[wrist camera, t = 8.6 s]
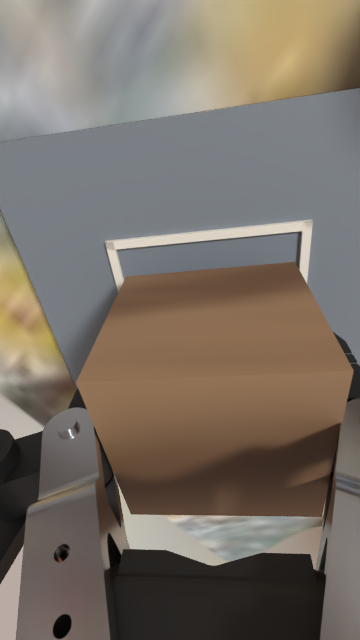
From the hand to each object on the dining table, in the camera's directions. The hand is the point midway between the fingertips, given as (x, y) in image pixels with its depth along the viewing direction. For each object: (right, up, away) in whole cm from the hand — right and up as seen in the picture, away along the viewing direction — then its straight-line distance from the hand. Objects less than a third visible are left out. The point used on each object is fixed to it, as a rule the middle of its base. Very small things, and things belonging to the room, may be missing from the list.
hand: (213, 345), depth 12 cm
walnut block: (0, 0, +1) cm, 1 cm away
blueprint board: (0, +2, +2) cm, 3 cm away
